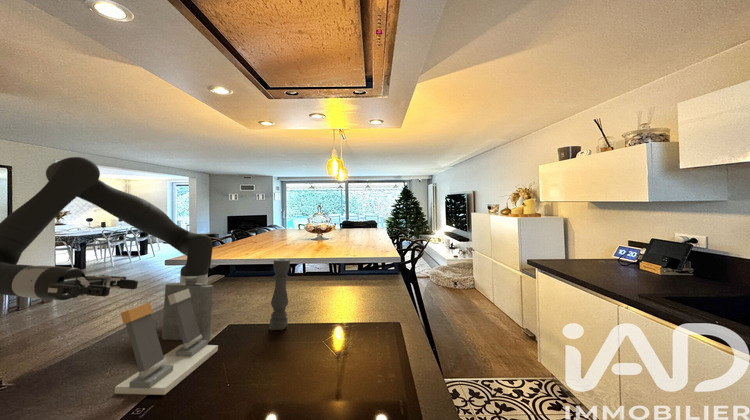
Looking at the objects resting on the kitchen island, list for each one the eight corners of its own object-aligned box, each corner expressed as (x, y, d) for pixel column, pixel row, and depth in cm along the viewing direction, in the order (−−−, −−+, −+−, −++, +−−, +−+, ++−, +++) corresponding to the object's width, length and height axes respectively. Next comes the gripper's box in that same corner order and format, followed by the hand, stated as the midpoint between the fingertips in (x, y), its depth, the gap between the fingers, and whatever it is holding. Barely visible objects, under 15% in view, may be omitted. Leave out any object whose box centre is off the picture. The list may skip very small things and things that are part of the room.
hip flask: (159, 339, 91) (163, 276, 92) (169, 334, 95) (173, 274, 96) (205, 342, 90) (209, 279, 91) (213, 337, 94) (217, 277, 95)
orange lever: (139, 379, 63) (120, 312, 64) (160, 365, 70) (142, 304, 70) (147, 377, 63) (128, 310, 64) (167, 363, 70) (150, 302, 70)
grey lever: (183, 349, 78) (167, 295, 79) (197, 340, 85) (182, 290, 85) (189, 347, 78) (173, 293, 79) (203, 338, 85) (188, 288, 85)
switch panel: (113, 394, 63) (114, 381, 63) (181, 348, 85) (182, 339, 85) (163, 395, 63) (164, 382, 63) (218, 350, 85) (218, 340, 85)
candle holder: (268, 331, 101) (272, 261, 102) (270, 325, 107) (273, 258, 108) (286, 330, 102) (290, 261, 104) (287, 324, 108) (290, 258, 109)
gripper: (18, 270, 60) (100, 276, 61) (81, 263, 74) (147, 268, 75) (11, 306, 59) (94, 311, 61) (75, 292, 73) (142, 297, 75)
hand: (123, 287), depth 68 cm, fingers open, 8 cm apart
